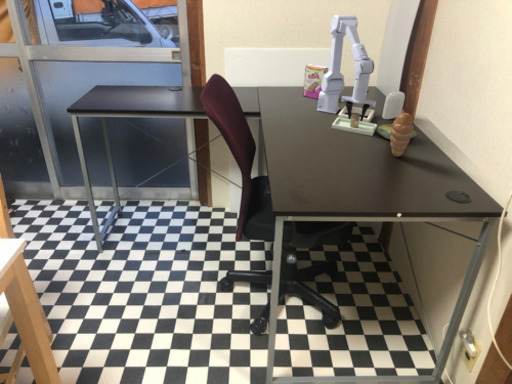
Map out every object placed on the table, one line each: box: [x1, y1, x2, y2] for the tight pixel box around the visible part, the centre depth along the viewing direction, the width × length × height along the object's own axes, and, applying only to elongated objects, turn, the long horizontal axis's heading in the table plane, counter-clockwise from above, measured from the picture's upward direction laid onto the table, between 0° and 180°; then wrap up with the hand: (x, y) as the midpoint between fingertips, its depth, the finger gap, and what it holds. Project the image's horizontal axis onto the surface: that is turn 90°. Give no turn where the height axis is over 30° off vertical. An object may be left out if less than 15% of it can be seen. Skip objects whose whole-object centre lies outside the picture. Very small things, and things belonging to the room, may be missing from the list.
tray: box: [331, 116, 378, 137], centre depth 181 cm, size 18×10×2 cm, turn 66°
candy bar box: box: [302, 63, 329, 100], centre depth 214 cm, size 11×5×16 cm, turn 58°
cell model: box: [376, 123, 417, 140], centre depth 173 cm, size 11×8×15 cm
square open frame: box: [337, 105, 375, 123], centre depth 192 cm, size 14×14×3 cm
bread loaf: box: [350, 113, 361, 128], centre depth 180 cm, size 4×4×6 cm
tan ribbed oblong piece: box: [389, 109, 414, 158], centre depth 154 cm, size 9×8×18 cm
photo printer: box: [381, 91, 406, 120], centre depth 193 cm, size 10×4×12 cm, turn 123°
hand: (355, 119), depth 180 cm, fingers open, 5 cm apart
